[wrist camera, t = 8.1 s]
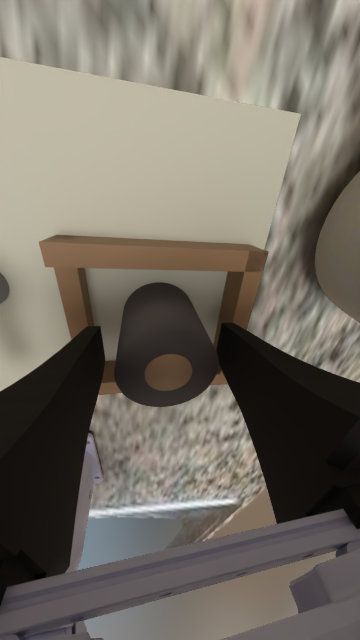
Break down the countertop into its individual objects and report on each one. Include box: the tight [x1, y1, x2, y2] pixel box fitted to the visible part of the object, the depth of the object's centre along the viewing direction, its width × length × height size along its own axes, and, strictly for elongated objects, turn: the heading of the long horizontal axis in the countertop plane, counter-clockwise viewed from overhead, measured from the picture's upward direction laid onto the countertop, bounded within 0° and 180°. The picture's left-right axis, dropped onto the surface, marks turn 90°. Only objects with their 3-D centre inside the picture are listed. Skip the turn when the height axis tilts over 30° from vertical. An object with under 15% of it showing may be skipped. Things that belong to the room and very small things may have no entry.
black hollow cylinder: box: [114, 282, 219, 407], centre depth 11 cm, size 4×4×5 cm
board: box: [0, 57, 301, 395], centre depth 9 cm, size 16×22×6 cm
